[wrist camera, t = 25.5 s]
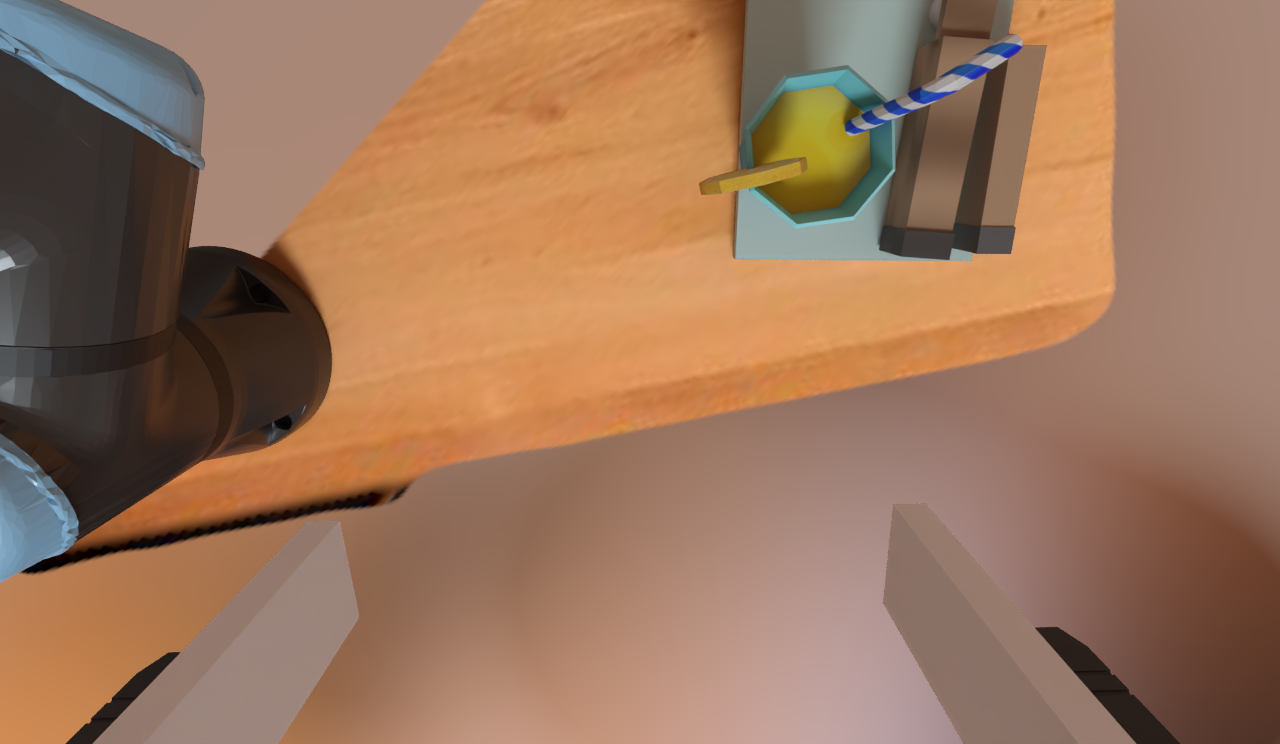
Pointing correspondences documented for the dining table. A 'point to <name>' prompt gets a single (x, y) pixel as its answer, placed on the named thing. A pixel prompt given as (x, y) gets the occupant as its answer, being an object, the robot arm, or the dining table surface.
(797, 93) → the cup
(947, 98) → the leg
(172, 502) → the dining table surface
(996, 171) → the stool seat
